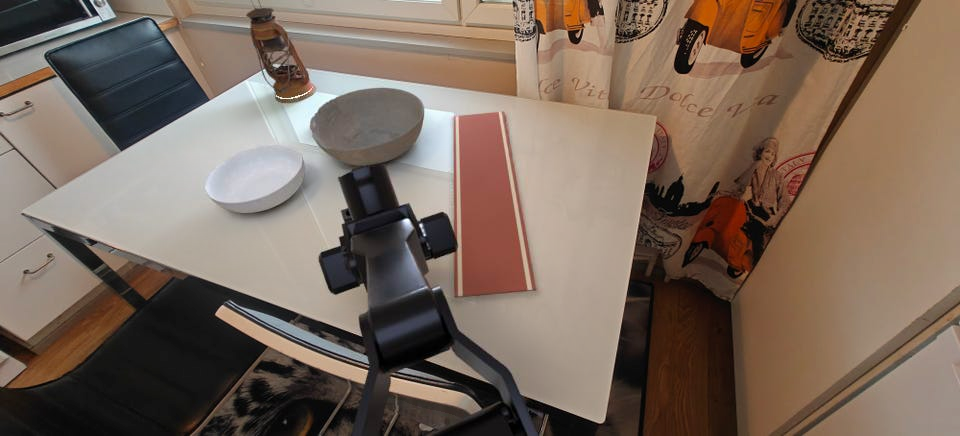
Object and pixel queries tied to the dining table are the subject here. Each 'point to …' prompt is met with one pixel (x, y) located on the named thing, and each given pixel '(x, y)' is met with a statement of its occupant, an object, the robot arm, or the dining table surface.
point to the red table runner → (487, 210)
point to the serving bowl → (256, 178)
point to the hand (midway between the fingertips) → (391, 251)
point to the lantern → (289, 76)
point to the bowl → (368, 125)
